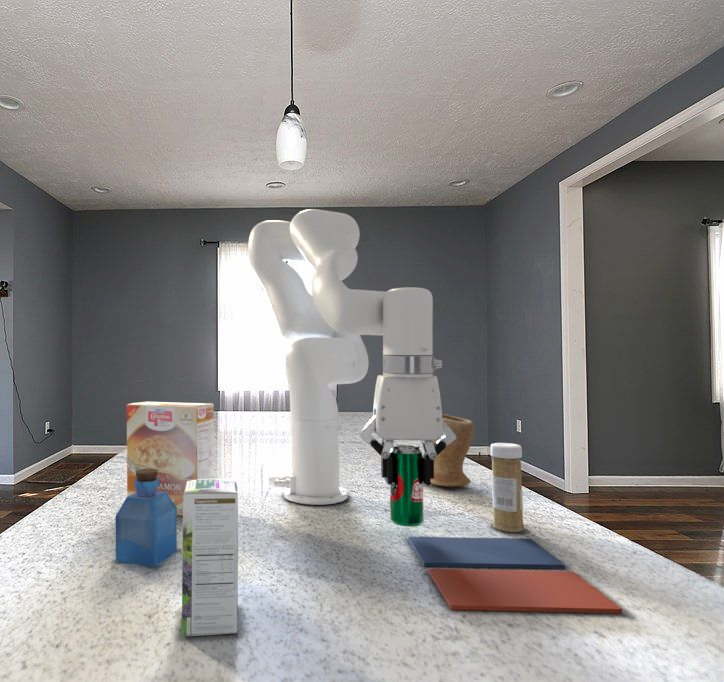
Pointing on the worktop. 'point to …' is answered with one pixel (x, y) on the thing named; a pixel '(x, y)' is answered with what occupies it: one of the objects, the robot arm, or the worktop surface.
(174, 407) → the coffeecake box
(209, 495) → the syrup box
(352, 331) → the robot arm
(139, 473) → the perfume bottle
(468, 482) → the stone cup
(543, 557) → the slate-blue mat
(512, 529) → the sprinkles bottle
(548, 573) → the terracotta mat
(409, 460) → the soda can
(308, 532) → the worktop surface
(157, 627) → the worktop surface
